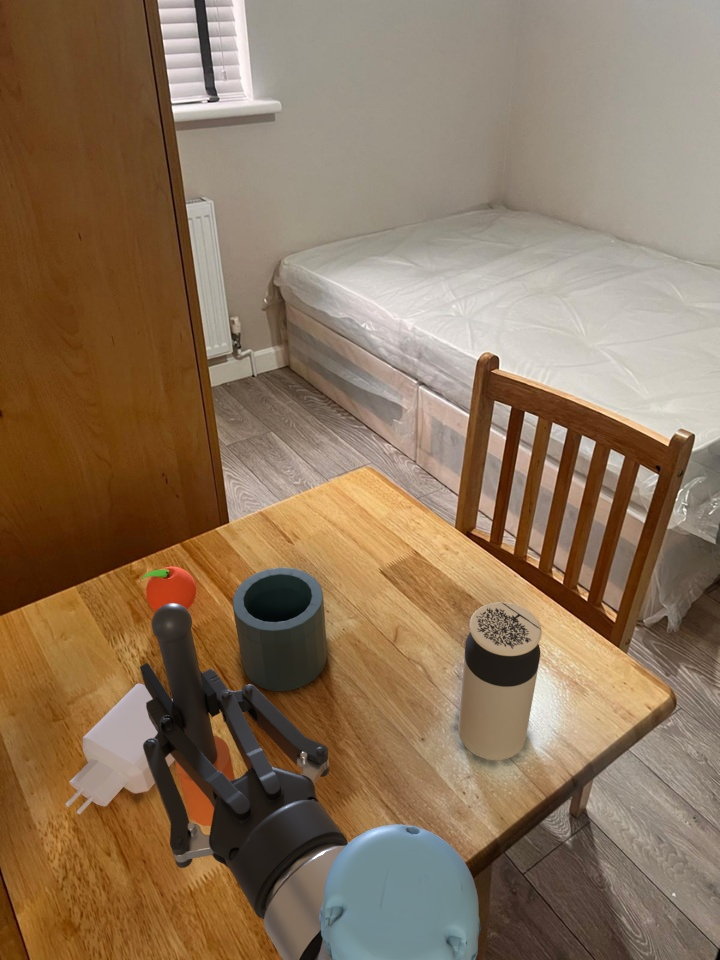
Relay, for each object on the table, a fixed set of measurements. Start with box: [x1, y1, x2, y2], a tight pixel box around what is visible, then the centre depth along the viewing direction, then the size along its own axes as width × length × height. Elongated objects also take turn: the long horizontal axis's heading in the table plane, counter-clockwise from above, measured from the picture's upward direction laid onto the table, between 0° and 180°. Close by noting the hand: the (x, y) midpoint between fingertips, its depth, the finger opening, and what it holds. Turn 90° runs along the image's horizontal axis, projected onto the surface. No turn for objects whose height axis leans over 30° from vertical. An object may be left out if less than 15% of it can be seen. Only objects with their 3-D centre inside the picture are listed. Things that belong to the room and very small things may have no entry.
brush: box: [151, 603, 236, 827], centre depth 62 cm, size 5×5×26 cm
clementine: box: [139, 566, 197, 612], centre depth 103 cm, size 8×7×7 cm
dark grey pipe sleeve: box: [232, 567, 328, 692], centre depth 94 cm, size 11×11×11 cm
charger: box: [65, 682, 176, 815], centre depth 83 cm, size 5×9×15 cm
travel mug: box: [457, 601, 543, 761], centre depth 82 cm, size 8×8×18 cm
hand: (164, 666), depth 65 cm, fingers closed on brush, 3 cm apart
